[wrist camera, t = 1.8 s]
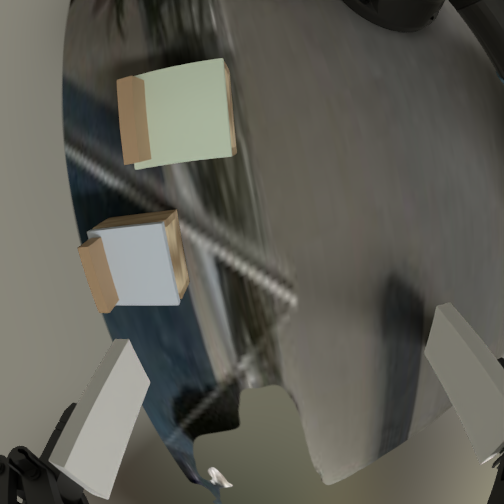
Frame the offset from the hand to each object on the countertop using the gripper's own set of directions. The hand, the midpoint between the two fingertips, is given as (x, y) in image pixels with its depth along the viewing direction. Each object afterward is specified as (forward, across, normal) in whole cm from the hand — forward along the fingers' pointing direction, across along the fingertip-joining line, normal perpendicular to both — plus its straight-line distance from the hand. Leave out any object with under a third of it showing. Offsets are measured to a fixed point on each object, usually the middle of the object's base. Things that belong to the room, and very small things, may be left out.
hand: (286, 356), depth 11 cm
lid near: (+20, -8, +12) cm, 24 cm away
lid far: (+19, -17, -4) cm, 26 cm away
